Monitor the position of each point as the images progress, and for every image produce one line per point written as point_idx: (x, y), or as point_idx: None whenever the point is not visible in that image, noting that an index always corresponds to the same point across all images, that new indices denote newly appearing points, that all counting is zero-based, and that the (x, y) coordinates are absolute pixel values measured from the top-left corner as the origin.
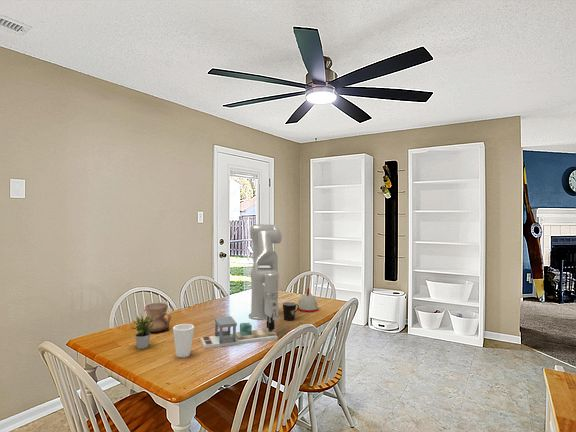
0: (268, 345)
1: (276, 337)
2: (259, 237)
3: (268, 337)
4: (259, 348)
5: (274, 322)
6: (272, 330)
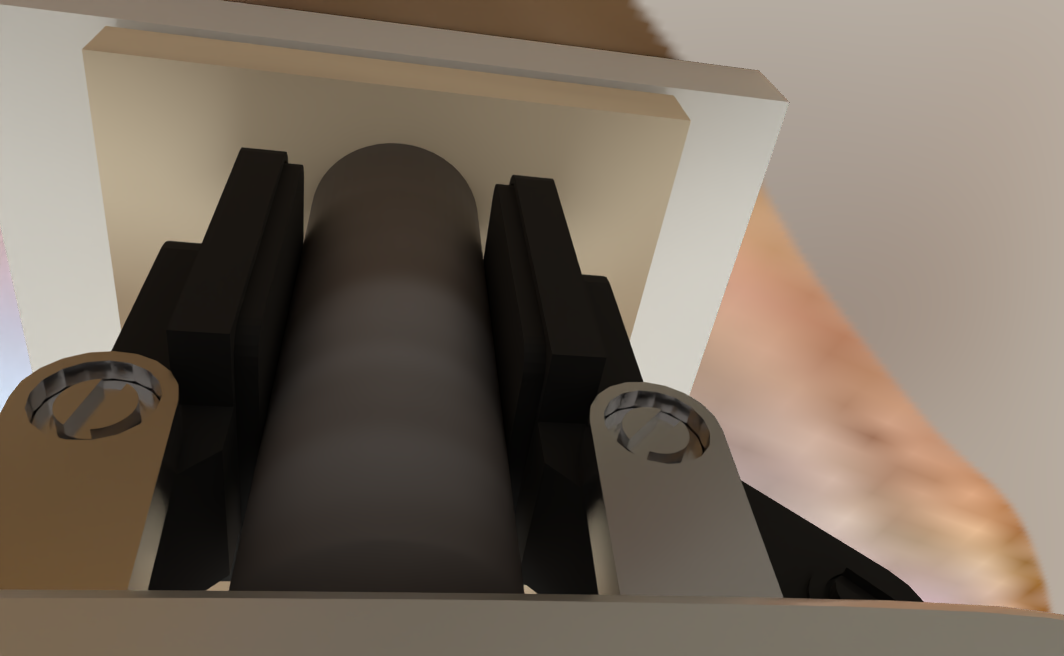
0: (913, 413)
1: (767, 131)
2: None
3: (689, 358)
4: (903, 568)
5: (599, 344)
6: (447, 171)
